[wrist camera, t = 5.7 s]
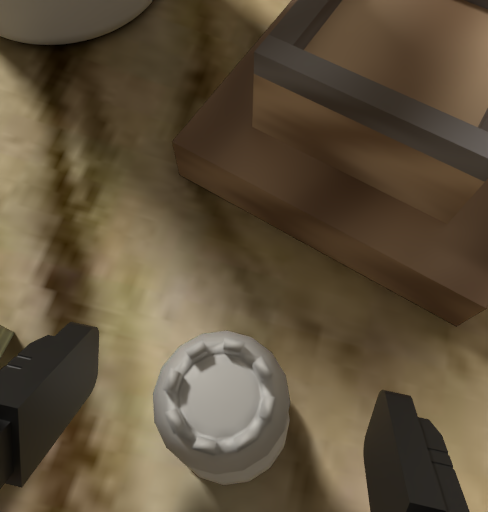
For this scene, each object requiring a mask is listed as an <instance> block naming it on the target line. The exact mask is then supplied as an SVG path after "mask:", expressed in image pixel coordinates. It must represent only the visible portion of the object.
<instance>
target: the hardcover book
mask: <svg viewBox="0 0 488 512" xmlns="http://www.w3.org/2000/svg"><path fill="white" fill-rule="evenodd" d="M13 335H14V332H13V331H11V330H9V329H7V328H5V327H3V326H1V325H0V358H1V356H2V355H3V353H4V351H5V349H6V347H7V346H8V344H9V342H10V340H11V338H12V337H13Z"/></svg>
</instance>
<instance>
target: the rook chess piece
mask: <svg viewBox="0 0 488 512" xmlns="http://www.w3.org/2000/svg"><path fill="white" fill-rule="evenodd" d="M153 403H154V422H155V424H156V426H157V428H158V431H159V433H160V435H161V437H162V439H163V441H164V443H165V446H166V448H168V449H169V450H170V451H171V452H172V453H173V454H174V455H175V456H177V457H178V458H179V459H180V461H182V462H183V463H184V464H185V465H186V466H187V467H188V468H189V469H191V470H192V471H193V472H194V473H195V474H196V475H197V476H199V477H200V478H202V479H206V480H209V481H212V482H215V483H219V484H222V485H229V484H236V483H243V482H249V481H251V480H252V479H254V478H255V477H257V476H258V475H260V474H261V473H263V472H264V471H266V470H268V469H269V468H270V467H271V466H272V464H273V463H274V461H275V460H276V458H277V457H278V455H279V454H280V452H281V451H282V449H283V448H284V445H285V441H286V436H287V431H288V427H289V422H290V419H289V412H288V411H289V407H290V398H289V392H288V386H287V380H286V375H285V373H284V372H283V370H282V368H281V367H280V365H279V363H278V362H277V360H276V358H275V357H274V355H273V353H272V352H271V351H269V350H268V349H267V348H265V347H264V346H263V345H261V344H260V343H259V342H257V341H256V340H255V339H253V338H252V337H249V336H245V335H242V334H238V333H234V332H230V331H220V332H212V333H204V334H201V335H199V336H197V337H195V338H193V339H192V340H190V341H188V342H186V343H184V344H183V345H181V346H179V347H178V348H177V350H176V351H175V352H174V353H173V354H172V356H171V357H170V358H169V359H168V360H167V362H166V363H165V364H164V365H163V366H162V368H161V371H160V374H159V377H158V380H157V383H156V386H155V389H154V392H153Z"/></svg>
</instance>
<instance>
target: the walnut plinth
mask: <svg viewBox="0 0 488 512" xmlns="http://www.w3.org/2000/svg"><path fill="white" fill-rule="evenodd" d="M172 144H173V148H174V153H175V157H176V162H177V166H178V170H179V175H181V176H183V177H185V178H186V179H188V180H190V181H192V182H194V183H196V184H197V185H199V186H201V187H203V188H205V189H207V190H208V191H210V192H212V193H214V194H216V195H217V196H219V197H221V198H223V199H225V200H227V201H228V202H230V203H232V204H234V205H236V206H238V207H239V208H241V209H243V210H245V211H247V212H249V213H250V214H252V215H254V216H256V217H258V218H259V219H261V220H263V221H265V222H267V223H269V224H270V225H272V226H274V227H276V228H278V229H280V230H281V231H283V232H285V233H287V234H289V235H291V236H292V237H294V238H296V239H298V240H300V241H302V242H303V243H305V244H307V245H309V246H311V247H312V248H314V249H316V250H318V251H320V252H322V253H323V254H325V255H327V256H329V257H331V258H333V259H334V260H336V261H338V262H340V263H342V264H344V265H345V266H347V267H349V268H351V269H353V270H355V271H356V272H358V273H360V274H362V275H364V276H365V277H367V278H369V279H371V280H373V281H375V282H376V283H378V284H380V285H382V286H384V287H386V288H387V289H389V290H391V291H393V292H395V293H397V294H398V295H400V296H402V297H404V298H406V299H407V300H409V301H411V302H413V303H415V304H417V305H418V306H420V307H422V308H424V309H426V310H428V311H429V312H431V313H433V314H435V315H437V316H439V317H440V318H442V319H444V320H446V321H448V322H450V323H451V324H453V325H455V326H458V325H459V324H461V323H463V322H464V321H466V320H468V319H470V318H471V317H473V316H475V315H476V314H478V313H480V312H481V311H483V310H485V309H486V308H487V306H488V0H292V1H291V2H290V3H289V4H288V5H287V7H286V8H285V9H284V10H283V11H282V12H281V14H280V15H279V16H278V17H277V18H276V19H275V21H274V22H273V23H272V24H271V25H270V27H269V28H268V29H267V30H266V31H265V32H264V34H263V35H262V36H261V37H260V38H259V40H258V41H257V42H256V43H255V44H254V45H253V47H252V48H251V49H250V50H249V51H248V53H247V54H246V55H245V56H244V57H243V58H242V60H241V61H240V62H239V63H238V64H237V65H236V67H235V68H234V69H233V70H232V71H231V73H230V74H229V75H228V76H227V77H226V78H225V80H224V81H223V82H222V83H221V84H220V86H219V87H218V88H217V89H216V90H215V91H214V93H213V94H212V95H211V96H210V97H209V99H208V100H207V101H206V102H205V103H204V104H203V106H202V107H201V108H200V109H199V110H198V112H197V113H196V114H195V115H194V116H193V117H192V119H191V120H190V121H189V122H188V123H187V124H186V126H185V127H184V128H183V129H182V130H181V132H180V133H179V134H178V135H177V136H176V137H175V139H174V140H173V141H172Z"/></svg>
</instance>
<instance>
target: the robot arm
mask: <svg viewBox="0 0 488 512" xmlns="http://www.w3.org/2000/svg"><path fill="white" fill-rule="evenodd" d="M98 352H99V330H98V328H97V327H93V326H88V325H84V324H79V323H74V322H70V323H68V324H67V325H66V326H65V327H64V328H63V329H62V330H61V331H60V332H59V333H58V334H57V335H56V336H50V335H47V336H45V337H43V338H40V339H38V340H36V341H34V342H32V343H30V344H29V345H28V346H27V347H25V348H24V349H23V350H22V351H21V352H20V353H19V354H18V356H17V357H14V358H13V359H12V360H11V361H10V362H9V363H8V364H7V366H4V367H3V368H2V369H1V370H0V489H1V487H2V486H3V485H4V484H5V483H6V484H10V485H14V486H18V487H23V485H24V484H25V482H26V481H27V480H28V478H29V477H30V476H31V474H32V473H33V472H34V470H35V469H36V468H37V466H38V465H39V463H40V462H41V461H42V459H43V458H44V457H45V455H46V454H47V453H48V451H49V450H50V448H51V447H52V446H53V444H54V443H55V442H56V440H57V439H58V438H59V436H60V435H61V433H62V432H63V431H64V429H65V428H66V427H67V425H68V424H69V423H70V421H71V420H72V419H73V417H74V416H75V414H76V413H77V412H78V410H79V409H80V408H81V406H82V405H83V404H84V402H85V401H86V399H87V398H88V397H89V395H90V394H91V392H92V390H93V388H94V386H95V383H96V379H97V374H98ZM364 464H365V472H366V480H367V488H368V495H369V503H370V511H371V512H469V509H468V506H467V503H466V501H465V498H464V495H463V492H462V490H461V487H460V484H459V481H458V479H457V476H456V473H455V470H454V469H453V465H452V462H451V459H450V456H449V455H448V451H447V448H446V445H445V443H444V440H443V437H442V435H441V434H440V433H439V431H438V430H437V429H436V428H435V427H434V425H433V424H432V423H431V422H430V420H429V419H424V418H419V417H418V416H417V413H416V410H415V407H414V403H413V400H412V398H411V396H409V395H404V394H399V393H395V392H390V391H385V390H381V391H380V393H379V395H378V398H377V401H376V404H375V407H374V410H373V413H372V417H371V420H370V423H369V426H368V429H367V432H366V436H365V441H364Z"/></svg>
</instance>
